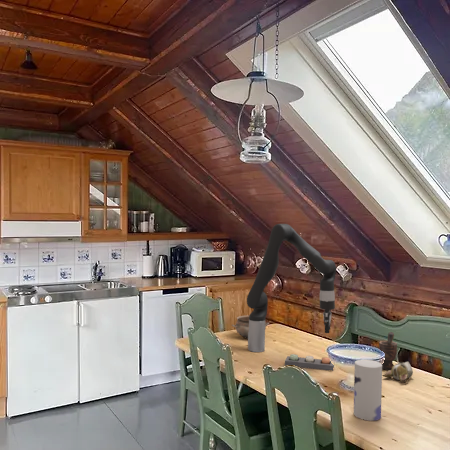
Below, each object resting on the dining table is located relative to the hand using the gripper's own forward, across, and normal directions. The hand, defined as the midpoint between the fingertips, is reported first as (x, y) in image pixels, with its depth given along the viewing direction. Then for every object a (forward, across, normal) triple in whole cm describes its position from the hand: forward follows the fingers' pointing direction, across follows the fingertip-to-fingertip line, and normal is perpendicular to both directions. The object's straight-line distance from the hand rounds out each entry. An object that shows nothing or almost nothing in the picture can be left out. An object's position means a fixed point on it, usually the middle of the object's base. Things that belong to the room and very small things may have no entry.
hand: (327, 331), depth 239 cm
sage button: (+16, +1, -17) cm, 23 cm away
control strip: (+18, +1, -9) cm, 20 cm away
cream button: (+16, +1, -9) cm, 18 cm away
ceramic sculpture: (+20, +7, +34) cm, 40 cm away
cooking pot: (+15, -46, -51) cm, 70 cm away
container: (+20, +57, +18) cm, 63 cm away
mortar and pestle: (+19, -7, +30) cm, 36 cm away
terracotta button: (+16, +1, -1) cm, 16 cm away
